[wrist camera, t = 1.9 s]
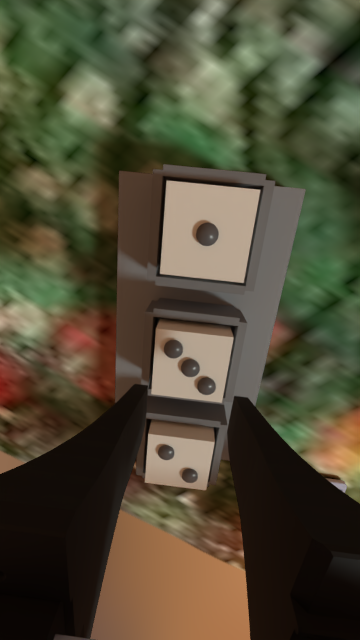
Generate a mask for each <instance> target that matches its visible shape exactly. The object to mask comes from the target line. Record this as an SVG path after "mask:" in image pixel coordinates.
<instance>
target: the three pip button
mask: <svg viewBox="0 0 360 640" xmlns="http://www.w3.org/2000/svg"><path fill="white" fill-rule="evenodd" d="M233 339H234V337H233V334H232V331H231V328H230V326H224V325H215V324H206V323H197V322H188V321H179V320H171V319H162V318H160V320H159V322H158V325H157V327H156V335H155V349H154V363H153V377H152V391H151V394H153V395H162V396H170V397H178V398H187V399H195V400H203V401H211V402H220V403H222V399H223V394H224V388H225V383H226V377H227V372H228V366H229V361H230V355H231V350H232V344H233Z"/></svg>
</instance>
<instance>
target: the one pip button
mask: <svg viewBox="0 0 360 640" xmlns="http://www.w3.org/2000/svg"><path fill="white" fill-rule="evenodd" d="M259 195H260V190H257V189H247V188H237V187H227V186H217V185H207V184H197V183H187V182H177V181H167V183H166V197H165V211H164V225H163V239H162V253H161V266H160V274H166V275H175V276H184V277H193V278H203V279H212V280H221V281H230V282H239V283H244V278H245V273H246V267H247V261H248V256H249V250H250V245H251V239H252V234H253V228H254V223H255V217H256V212H257V206H258V201H259Z"/></svg>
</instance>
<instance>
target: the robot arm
mask: <svg viewBox="0 0 360 640" xmlns="http://www.w3.org/2000/svg"><path fill="white" fill-rule="evenodd" d="M147 395H148V385H140V384H134V385H133V386H132V387H131V388H130V389H129V390H128V391H127V392H126V393H125V394H124V395H123V396H122V397H121V398H120V399H119V400H118V401H117V402H116V403H115V404H114V405H113V406H112V407H111V408H110V409H109V410H108V411H106V412H105V413H104V414H103V415H102V416H100V417H99V418H98V419H97V420H96V421H94V422H93V423H92V424H91V425H89V426H88V427H87V428H85V429H84V430H83V431H81V432H80V433H78V434H77V435H75V436H74V437H73V438H71V439H69V440H68V441H66V442H64V443H63V444H61V445H59V446H58V447H56V448H54V449H52V450H51V451H49V452H47V453H45V454H43V455H41V456H39V457H37V458H35V459H33V460H31V461H29V462H27V463H25V464H23V465H21V466H18V467H16V468H14V469H11V470H9V471H7V472H4V473H2V474H0V640H94V639H90V637H91V631H92V627H93V623H94V618H95V613H96V609H97V605H98V600H99V596H100V591H101V587H102V582H103V578H104V573H105V569H106V565H107V560H108V556H109V552H110V547H111V543H112V539H113V535H114V530H115V527H116V523H117V518H118V514H119V510H120V506H121V502H122V499H123V496H124V492H125V489H126V486H127V483H128V481H129V478H130V475H131V472H132V469H133V466H134V463H135V460H136V457H137V454H138V451H139V448H140V445H141V441H142V437H143V432H144V428H145V423H146V410H147ZM227 440H228V453H229V459H230V465H231V470H232V475H233V480H234V486H235V491H236V496H237V501H238V506H239V513H240V519H241V529H242V538H243V548H244V560H245V571H246V582H247V596H248V609H249V622H250V639H251V640H360V504H359V503H358V502H356V501H355V500H353V499H352V498H351V497H349V496H348V495H346V494H345V490H346V488H347V486H346V484H345V482H344V481H342V480H336V479H328V478H324V477H323V476H322V475H321V474H319V473H318V472H317V471H316V470H315V469H313V468H312V467H311V466H310V465H309V464H308V463H307V462H306V461H305V460H303V459H302V458H301V457H300V456H299V455H298V454H297V453H296V452H295V451H294V450H293V449H292V448H291V447H290V446H289V445H288V444H287V443H286V442H285V441H284V440H283V439H282V438H281V437H280V436H279V435H278V433H277V432H276V431H275V430H274V429H273V428H272V427H271V425H270V424H269V423H268V422H267V421H266V420H265V418H264V417H263V416H262V415H261V413H260V412H259V411H258V410H257V408H256V407H255V406H254V405H253V403H252V402H251V401H250V399H249V398H248V397H241V396H234V399H233V404H232V409H231V414H230V419H229V424H228V430H227Z"/></svg>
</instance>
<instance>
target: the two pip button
mask: <svg viewBox="0 0 360 640" xmlns="http://www.w3.org/2000/svg"><path fill="white" fill-rule="evenodd" d="M214 444H215V439H214V427H211V426H203V425H195V424H187V423H178V422H170V421H162V420H154V419H152V421H151V425H150V429H149V433H148V446H147V460H146V474H145V483H152V484H160V485H168V486H175V487H183V488H191V489H199V490H206V488H207V482H208V477H209V471H210V466H211V460H212V455H213V449H214Z"/></svg>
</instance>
